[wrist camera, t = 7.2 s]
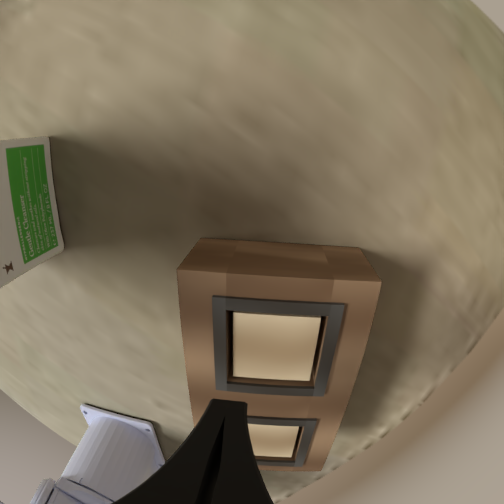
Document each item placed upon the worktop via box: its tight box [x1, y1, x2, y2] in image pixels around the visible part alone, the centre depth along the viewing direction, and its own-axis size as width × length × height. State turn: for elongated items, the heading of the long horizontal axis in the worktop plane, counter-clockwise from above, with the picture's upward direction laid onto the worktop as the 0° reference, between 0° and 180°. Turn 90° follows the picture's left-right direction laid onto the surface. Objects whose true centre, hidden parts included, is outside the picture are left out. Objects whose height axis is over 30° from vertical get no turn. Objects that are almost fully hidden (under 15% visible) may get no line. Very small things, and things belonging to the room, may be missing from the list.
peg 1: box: [233, 311, 321, 381], centre depth 17 cm, size 4×4×4 cm
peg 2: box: [248, 424, 299, 457], centre depth 19 cm, size 4×4×4 cm
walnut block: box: [177, 238, 382, 471], centre depth 18 cm, size 16×9×5 cm, turn 178°
